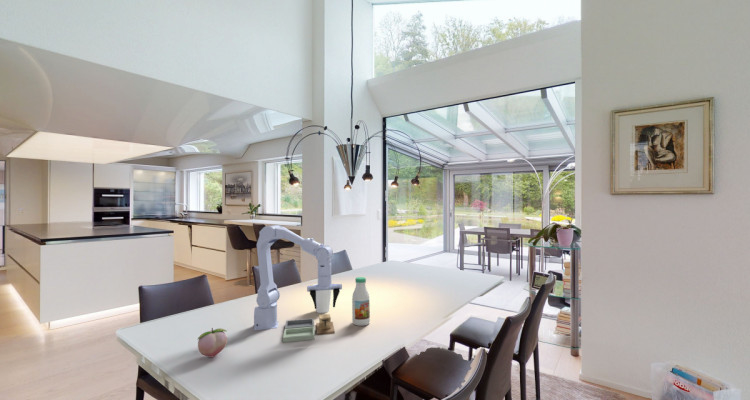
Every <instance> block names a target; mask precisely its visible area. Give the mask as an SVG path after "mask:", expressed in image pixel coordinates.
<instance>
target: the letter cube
mask: <svg viewBox="0 0 750 400" xmlns="http://www.w3.org/2000/svg"><path fill="white" fill-rule="evenodd" d="M318 318H319V319H318V321H319V322H318V323H319V327H320V329H330V328H331V322H332V321H331V319H332V318H331V314H330V313H327V314H326V313H323V314H319V315H318Z"/></svg>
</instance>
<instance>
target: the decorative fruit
mask: <svg viewBox="0 0 750 400" xmlns="http://www.w3.org/2000/svg"><path fill="white" fill-rule="evenodd" d="M225 332H227V330H226V328H225V329H224V328H216V329H213V327H212V328H211V330H208V331H205V332H203V333H201V334H200V335H199V336H198V337H197V340H198V341H197V349H198V351H199V353H200V354H201V355H203V356H205V357H208V358H213V357H215V356H217V355H218V354H220V353H221V352H222V351H223V350H224V349H225V348H226V345H227V343H228V337H227V334H226V333H225Z"/></svg>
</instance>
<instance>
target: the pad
mask: <svg viewBox="0 0 750 400" xmlns="http://www.w3.org/2000/svg"><path fill="white" fill-rule="evenodd" d="M335 332H336V331H335V325H334V322H333V321H331V328H330V329H320V327H319V322H316V335H319V336H321V335H330V334H335Z"/></svg>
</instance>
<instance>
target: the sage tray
mask: <svg viewBox="0 0 750 400" xmlns="http://www.w3.org/2000/svg"><path fill="white" fill-rule="evenodd" d="M315 331H316V330H315V326H314V327H303V328H292V329H285V328H284V331H283V337H282V342H283V343H288V342H289V343H290V342H299V341H309V340H315V338H316V336H315V335H316V334H315V333H316V332H315Z"/></svg>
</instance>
